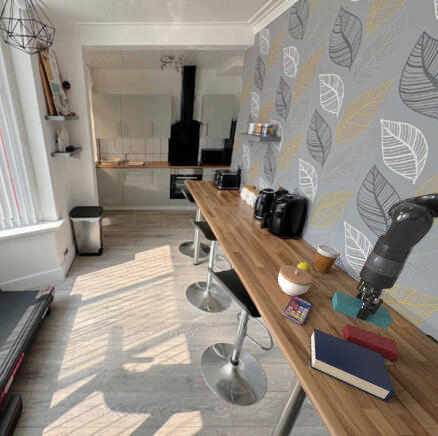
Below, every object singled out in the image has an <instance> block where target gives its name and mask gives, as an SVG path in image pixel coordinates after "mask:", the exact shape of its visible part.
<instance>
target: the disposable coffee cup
mask: <svg viewBox="0 0 438 436" xmlns="http://www.w3.org/2000/svg"><path fill="white" fill-rule="evenodd" d="M340 256H341V253H340V250H339V249H337V248H336V247H333V246H331V245H327V244H320V245H318V247H316V255H315V261H314V264H313V268H314V269H315V270H316V271H318V272H320V273H324V274H328V273H329V271H330V270H331V269H332V267H333V265H334V264H335V262H336V261H337V259H338V258H339V257H340Z"/></svg>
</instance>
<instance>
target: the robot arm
mask: <svg viewBox="0 0 438 436" xmlns="http://www.w3.org/2000/svg"><path fill="white" fill-rule="evenodd" d="M387 215H388V218H389V219H390V221H391V223H390V226H389V227H388V229H387V231H386V232H384V233H382V234H380V235H379V237H378V238H377V240H376V242H375V244H374V246H373V247H372V250H371V251H370V253H369V254H368V256H367V257H366V260H365V261H364V264H363V266H362V268H361V270H360V272H359V275H358V276H359V278H360V279H359V282H358V284H357V287H356V290H357V291H356V296H355V298H358V299H361V301H362V305H361V308H360V309H359V311H358V313H357V315H356V316H357V318H358V320H360V319H361V320H360V321H363V320H364V321H363V322H366V321H365V320H366V319H367V317H368V315H369V314H373V315H374V314H375V313H376V311H377V310H378V308H379V307H380V306H382V305H383V302H384V299H383V298H380V297H382V293H383V290H390V289H392V288H393V287H394V285H395V284H396V282H397V281H398V280H399V278H400V276H401V274H402V272H403V270H404V268H405V265H406V263H407V260H408V259H409V257H410V255H411V253H412V252H413V249H414V248H415V247H416V246H417V245H418V244H419V243H420V242H421V241H422V240H423V239H424V238H425V237H426V236H427V235H428V234H429V233H430V231H431V230H432V228H433V226H434V224H435V219H437V218H438V192H433V193H427V194H422V195H416V196H412V197H408V198H405V199H402V200H399V201H397V202H395V203H393V204H392V205H391V206H390V207H389V208H388V211H387ZM369 307H370V308H369ZM357 318H356V319H357Z"/></svg>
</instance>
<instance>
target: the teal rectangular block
mask: <svg viewBox="0 0 438 436" xmlns="http://www.w3.org/2000/svg"><path fill="white" fill-rule="evenodd" d="M361 305H362V301H361V299H358V298H356V296H353V295H349V294H345V293H342V292H339V291H335V293H334V294H333V297H332V307H333V311H334V312H337V313H341V314H344V315H346V316H349V317H352V318H355V319H356V320H357V319H358V318H357V316H356V315H357V313H358V311H359V309H360V308H361ZM369 308H370V307H369ZM358 320H360V321H363V322H365V323H368V324H371V325H375V326H377V327H380V328H383V329H386V330H388V329H389V328H390V326H391V324H392V323H393V321H394V319H393V318H392V315H391V313H390V311H389V308H388V307H386V306H384V305H381V306H380V307H379V308H378V310H377V311H376V313H375V314H374V315H373V314H369V315H368V317H367V319H366V320H365V321H364V320H361V319H358Z"/></svg>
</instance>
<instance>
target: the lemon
mask: <svg viewBox="0 0 438 436" xmlns="http://www.w3.org/2000/svg"><path fill="white" fill-rule="evenodd" d="M296 267H298V268H301V269H303V270H305V271H307V272H308V273H309V274H310V273H311V266H310V264H309V263H307V262H304V261H303V262H300V263H298V264H297V266H296Z"/></svg>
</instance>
